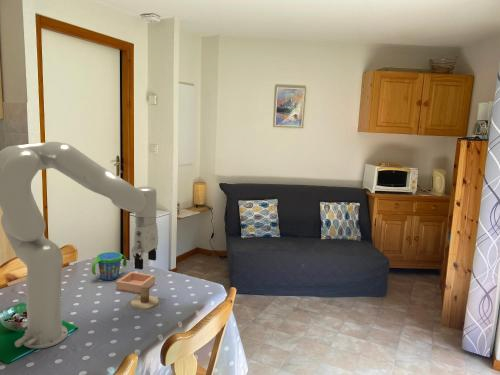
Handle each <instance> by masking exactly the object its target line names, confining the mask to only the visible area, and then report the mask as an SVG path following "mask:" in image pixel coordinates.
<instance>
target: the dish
mask: <svg viewBox="0 0 500 375" xmlns="http://www.w3.org/2000/svg"><path fill="white" fill-rule="evenodd" d="M155 284H156V275H154V274H147V273H141V272H135V271H131V272H129V273H127V274H125V275H124V276H123V277H121V278H119V279H118V280H116V281H115V290H116V291H119V292H120V291H121V292H125V293H131V294H136V295H139V294H140V295H141V288H143V287H148V288H149V289H150V288H151V287H153V286H154V285H155Z"/></svg>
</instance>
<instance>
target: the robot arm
mask: <svg viewBox="0 0 500 375" xmlns="http://www.w3.org/2000/svg"><path fill="white" fill-rule="evenodd" d="M47 169H55V170H56V171H58V172H59V173H61V174H63V175H64V176H66V177H67V178H69V179H71V180H72V181H74V182H75V183H78V185H81V186H82V187H84V188H86V189H87V190H89V191H91V192H93V193H96V194H98V195H101V196H103V197H106V198H108V199H109V200H111V203H112V204H113V205H114V206H115V207H116V208H118V209H122V210H125V211H127V212H129V213H132V214H134V220H135V221H134V223H135V224H134V225H135V229H134V236H133V237H134V239H133V240H134V241H133V244H134V246H133V247H132V249H131V252H132V257H133V259H134V269H137V270H143V269H144V258H143V257H144V254H147V258H148V259H147V260H148V261H155V262H156V260H157V249H158V245H159V233H158V232H159V231H158V224H157V189H156V188H155V187H154V186H138V187H135V186H134V185H133V184H131V183H130V182H128V181H127V180H124V179H123V178H121V177H120V176H118V175H116V174H114V172H111V171H110V170H108V169H107V168H105V167H103V166H101V164H99V163H97V162H95V161H94V160H92V158H90V157H88V156H87V155H86V154H84V153H83V152H81V150H78V149H77V148H76V147H74V146H72V145H71V144H70V143H69V144H68V143H66V142H60V141H47V142H40V143H37V142H35V143H28V144H19V145H18V144H17V145H8V146H6V147H5V148H3V149H1V150H0V209H1V211H2V215H1V219H0V225H1V227H2V230H3V232H4V234H5V236H6V238H7V240H8V242H9V244H10V246H11V248H12V250H13V251H14V254H15V255H16V257H17V258H18V259H19V260H20V262H22V263H23V264H24V265H25V266H26V269H27V271H26V272H27V273H26V279H25V295H26V316H27V317H26V320H27V321H26V322H27V323H26V324H27V328H26V329H25V330H24V334H23V336H22V337H20V338H19V339H17V340H16V341H14V346H15V347H16V348H19V347H22V346H24V347H25V348H29V349H46V348H50V347H53V346H55V345H58V344H60V343H61V342H63V341H64V340H65V339H66V338H67V336H68V332H69V331H68V328H67V327H66V326H64V325H63V320H62V319H63V310H62V309H63V308H62V307H63V305H62V304H63V303H62V302H63V301H62V269H63V263H64V262H63V261H64V256H63V252H62V250H61V248H60V247H59V245H58V244H56V243H55V242H54V241H52V240H50V239H48V238H46V236H45V232H46V228H47V227H46V226H47V225H46V220H45V217H43V215H42V214H43V213H42V212H41V211H40V207H38V204H37V202H36V200H35V198H34V195H33V191H32V188H31V186H32V181H33V179H34V178H35V176H36V175H37V173H38V172H39V171H42V170H47Z"/></svg>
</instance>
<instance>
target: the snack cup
mask: <svg viewBox="0 0 500 375" xmlns="http://www.w3.org/2000/svg"><path fill="white" fill-rule="evenodd" d="M122 259H123V261H122ZM127 263H128V262H127V258H126V256H125V255H123V254H122V253H120V252H116V251H114V252H113V251H109V252H106V251H105V252H102V253H100V254H97V256H96V259H95V260H93V263H92V265H91V273H92V274H93V276H94V275H96V265H98V270H99V276H100V278H101V280H104V281H111V280H115V279H118V278H119V275H120V271H121V264H122V266H123V267H124V268H126V267H127V265H128V264H127Z"/></svg>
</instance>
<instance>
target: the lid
mask: <svg viewBox="0 0 500 375" xmlns="http://www.w3.org/2000/svg"><path fill="white" fill-rule="evenodd" d="M140 295H141V296H139V297H136V296H135V297H136V298H135V297H133V298H132V299H133V300H132V299H131V300H132V301H131V300H130V301H131V306H132V307H134V308H136V309H150V308H153V307H155V306H156V305H157V304H158V299H157V298H156V297H157V296H154V295H150V288H148V287H143V288H141V294H140Z"/></svg>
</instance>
